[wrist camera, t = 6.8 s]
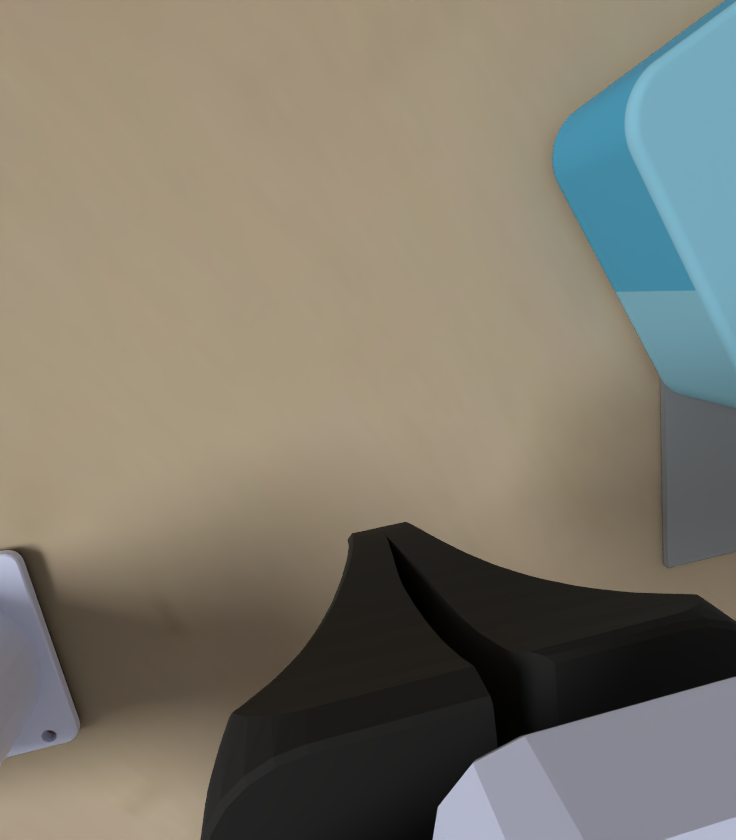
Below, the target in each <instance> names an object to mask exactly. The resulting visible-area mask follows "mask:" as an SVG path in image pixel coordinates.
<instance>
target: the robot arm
mask: <svg viewBox="0 0 736 840" xmlns="http://www.w3.org/2000/svg"><path fill="white" fill-rule="evenodd" d="M348 543H349V550H348V556H347V561H346V565H345V569H344V572H343V576H342V579H341V582H340V584H339V587H338V589H337V591H336V594H335V596H334V599H333V601H332V603H331V605H330V607H329V609H328V611H327V613H326V615H325V617H324V619H323V620H322V622H321V624H320V625H319V627H318V629H317V630H316V632H315V633H314V634H313V636H312V637H311V639H310V640H309V642H308V643H307V645H306V646H305V647H304V649H303V650H302V651H301V652H300V653H299V655H298V656H297V657H296V658H295V659H294V660H293V661H292V662H291V663H290V664H289V665H288V666H287V667H286V668H285V669H284V670H283V671H282V672H281V673H280V674H279V675H278V676H277V677H276V678H275V679H274V680H273V681H272V682H271V683H269V684H268V685H267V686H266V687H265V688H263V689H262V690H261V691H260V692H258V693H257V694H256V695H255V696H253V697H252V698H251V699H250V700H248V701H247V702H246V703H245V704H243V705H242V706H241V707H239V708H238V709H237V710H235V711H234V712H233V713H232V714H231V716H230V718H229V720H228V723H227V726H226V729H225V732H224V735H223V738H222V741H221V744H220V747H219V750H218V754H217V757H216V761H215V765H214V768H213V771H212V775H211V779H210V783H209V787H208V792H207V798H206V803H205V810H204V818H203V825H202V833H201V840H736V621H734V620H733V619H732V618H730V617H729V616H727V615H726V614H724V613H723V612H722V611H720V610H719V609H717V608H716V607H714V606H713V605H712V604H710V603H709V602H707V601H706V600H704V599H703V598H701V597H700V596H698V595H693V594H658V593H632V592H621V591H611V590H602V589H594V588H587V587H580V586H574V585H569V584H564V583H559V582H554V581H549V580H544V579H540V578H536V577H532V576H528V575H525V574H522V573H518V572H515V571H512V570H509V569H505V568H502V567H499V566H497V565H494V564H491V563H489V562H486V561H484V560H481V559H479V558H477V557H474V556H472V555H469V554H467V553H465V552H463V551H461V550H459V549H457V548H455V547H453V546H451V545H449V544H447V543H445V542H443V541H441V540H439V539H437V538H435V537H433V536H432V535H430V534H428V533H426V532H424V531H422V530H421V529H419V528H417V527H415V526H413V525H411V524H410V523H407V522H403V523H399V524H394V525H389V526H385V527H380V528H376V529H371V530H366V531H362V532H357V533H352V534H351V536H350V537H349V539H348ZM79 729H80V721H79V718H78V715H77V712H76V709H75V706H74V704H73V701H72V698H71V695H70V692H69V689H68V686H67V683H66V680H65V678H64V675H63V672H62V669H61V666H60V663H59V660H58V657H57V655H56V652H55V649H54V646H53V643H52V640H51V637H50V634H49V632H48V629H47V626H46V623H45V620H44V617H43V614H42V611H41V608H40V606H39V603H38V600H37V597H36V594H35V591H34V588H33V585H32V583H31V580H30V577H29V574H28V571H27V568H26V565H25V562H24V560H23V558H22V556H21V555H20V554H18V553H17V552H15V551H12V550H3V551H0V766H1V764H2V763H3V761H4V759H5V758H6V757H10V756H14V755H18V754H22V753H26V752H30V751H34V750H38V749H42V748H46V747H50V746H54V745H58V744H62V743H66V742H69V741H71V740H73V739H74V738H75V737H76V735H77V733H78V731H79ZM47 730H52V731H54V732H55V733H56V734H51V733H48V732H47Z"/></svg>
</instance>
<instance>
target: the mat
mask: <svg viewBox="0 0 736 840" xmlns="http://www.w3.org/2000/svg"><path fill="white" fill-rule="evenodd" d="M660 395H661V451H662V506H663V562H664V565H665V566H666V567H667V568H671V567H675V566H679V565H683V564H687V563H691V562H696V561H700V560H704V559H708V558H712V557H716V556H720V555H724V554H728V553H732V552H736V408H733V407H729V406H724V405H720V404H716V403H712V402H708V401H704V400H700V399H695V398H691V397H687V396H683V395H680V394H677V393H675V392H673V391H672V390H670V389H669V388H668V387H667V386H666V385H665V384H664V382H663V381H662V379H661V377H660Z"/></svg>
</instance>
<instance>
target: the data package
mask: <svg viewBox="0 0 736 840" xmlns="http://www.w3.org/2000/svg"><path fill="white" fill-rule="evenodd" d="M552 160H553V169H554V174H555V177H556V180H557V182H558V184H559V186H560V188H561V190H562V192H563V194H564V196H565V198H566V200H567V201H568V203H569V205H570V207H571V209H572V211H573V213H574V215H575V217H576V218H577V220H578V222H579V224H580V226H581V228H582V230H583V232H584V234H585V235H586V237H587V239H588V241H589V243H590V245H591V247H592V249H593V251H594V253H595V254H596V256H597V258H598V260H599V262H600V264H601V266H602V268H603V270H604V271H605V273H606V275H607V277H608V279H609V281H610V283H611V285H612V287H613V288H614V290H615V292H616V294H617V296H618V298H619V300H620V302H621V304H622V305H623V307H624V309H625V311H626V313H627V315H628V317H629V319H630V321H631V322H632V324H633V326H634V328H635V330H636V332H637V334H638V336H639V338H640V340H641V341H642V343H643V345H644V347H645V349H646V351H647V353H648V355H649V357H650V358H651V360H652V362H653V364H654V366H655V368H656V370H657V372H658V374H659V375H660V377H661V379H662V381H663V382H664V384H665V385H666V386H667V387H668V388H669V389H670V390H672V391H673V392H675V393H677V394H680V395H683V396H687V397H691V398H695V399H700V400H704V401H708V402H712V403H716V404H720V405H724V406H729V407H733V408H736V0H725V1H724V2H722V3H721V4H720V5H718V6H717V7H716V8H714V9H713V10H712V11H710V12H709V13H707V14H706V15H705V16H703V17H702V18H701V19H699V20H698V21H697V22H695V23H694V24H693V25H691V26H690V27H689V28H687V29H686V30H684V31H683V32H682V33H680V34H679V35H678V36H676V37H675V38H674V39H672V40H671V41H670V42H668V43H667V44H665V45H664V46H663V47H661V48H660V49H659V50H657V51H656V52H655V53H653V54H652V55H651V56H649V57H648V58H646V59H645V60H644V61H642V62H641V63H640V64H638V65H637V66H636V67H634V68H633V69H632V70H630V71H629V72H627V73H626V74H625V75H623V76H622V77H621V78H619V79H618V80H617V81H615V82H614V83H613V84H611V85H610V86H609V87H607V88H606V89H604V90H603V91H602V92H600V93H599V94H598V95H596V96H595V97H594V98H592V99H591V100H590V101H588V102H587V103H585V104H584V105H583V106H581V107H580V108H579V109H577V110H576V111H575V112H574V113H572V114H571V115H570V116H569V117H568V118H567V120H566V121H565V122H564V124H563V125H562V127H561V128H560V130H559V132H558V135H557V137H556V140H555V143H554V148H553V158H552Z"/></svg>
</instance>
